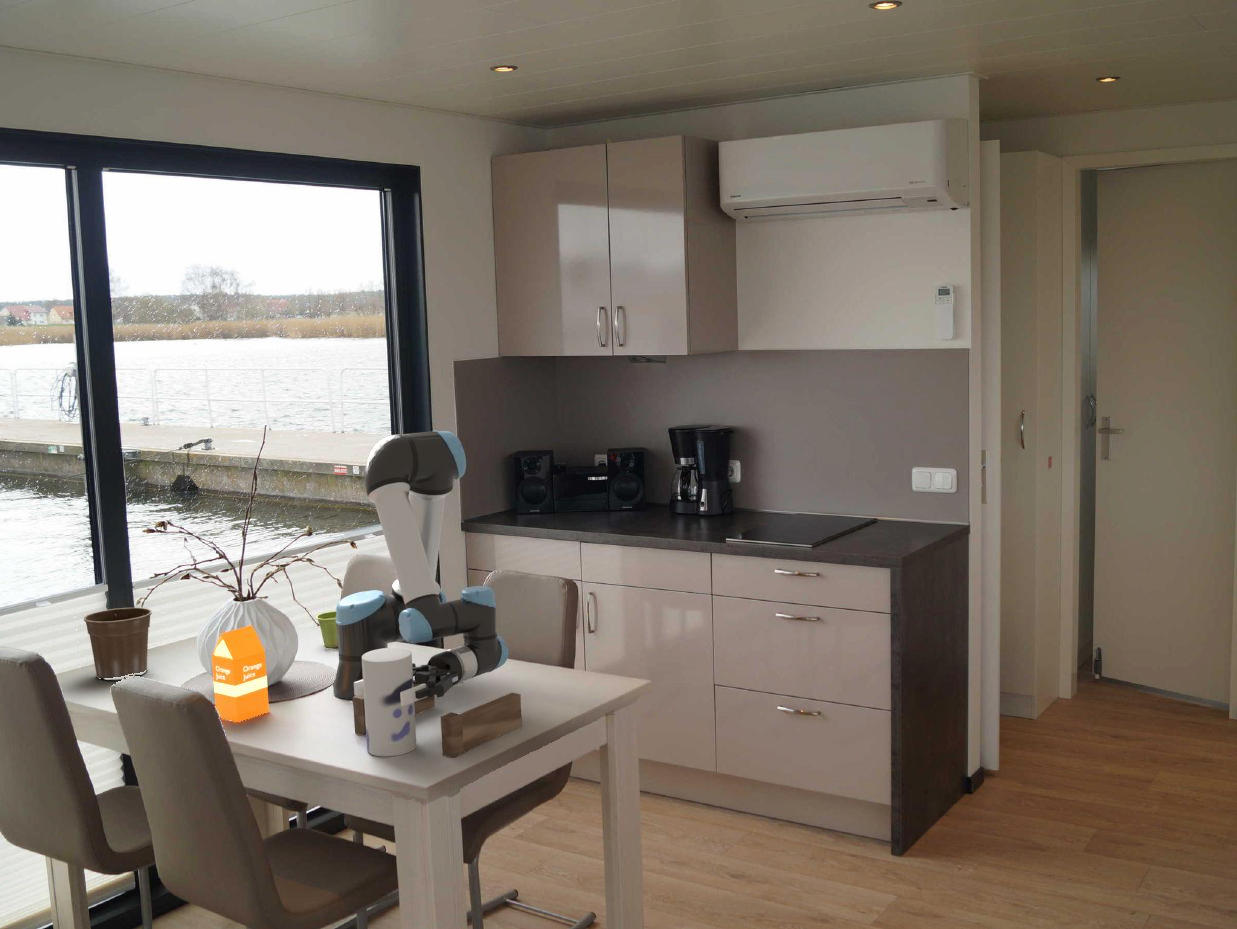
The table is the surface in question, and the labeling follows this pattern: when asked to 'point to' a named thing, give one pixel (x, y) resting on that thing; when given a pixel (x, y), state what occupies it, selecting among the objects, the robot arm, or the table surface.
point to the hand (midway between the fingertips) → (378, 694)
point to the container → (388, 701)
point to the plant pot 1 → (119, 640)
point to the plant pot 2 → (328, 628)
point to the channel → (462, 721)
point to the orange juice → (240, 675)
